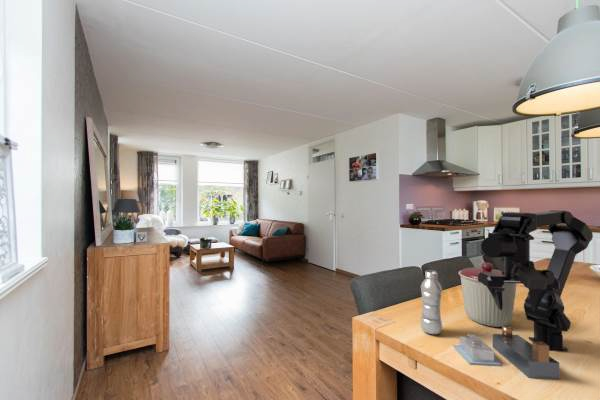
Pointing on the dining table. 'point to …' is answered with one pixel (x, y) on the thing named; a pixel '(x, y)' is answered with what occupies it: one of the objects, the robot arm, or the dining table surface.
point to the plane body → (526, 355)
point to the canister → (486, 298)
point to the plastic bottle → (431, 303)
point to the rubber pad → (475, 361)
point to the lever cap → (476, 348)
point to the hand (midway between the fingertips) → (517, 310)
